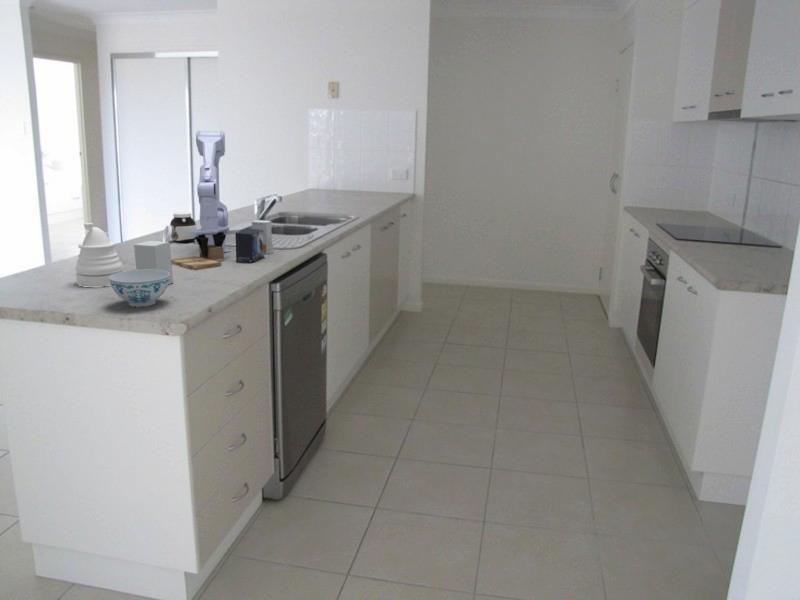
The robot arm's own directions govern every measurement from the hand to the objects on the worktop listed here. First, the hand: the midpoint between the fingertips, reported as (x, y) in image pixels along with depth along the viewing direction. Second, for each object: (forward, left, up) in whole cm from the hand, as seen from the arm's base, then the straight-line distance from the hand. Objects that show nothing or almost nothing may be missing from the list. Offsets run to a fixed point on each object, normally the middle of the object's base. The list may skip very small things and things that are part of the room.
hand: (211, 255), depth 233 cm
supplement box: (+21, -33, -2) cm, 39 cm away
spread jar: (-40, +10, -2) cm, 41 cm away
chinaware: (+38, -46, -2) cm, 59 cm away
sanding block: (0, 0, -2) cm, 2 cm away
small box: (+10, +9, -2) cm, 14 cm away
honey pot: (+7, -43, -2) cm, 43 cm away
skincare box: (+2, +20, -2) cm, 21 cm away
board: (+3, -9, -2) cm, 9 cm away
